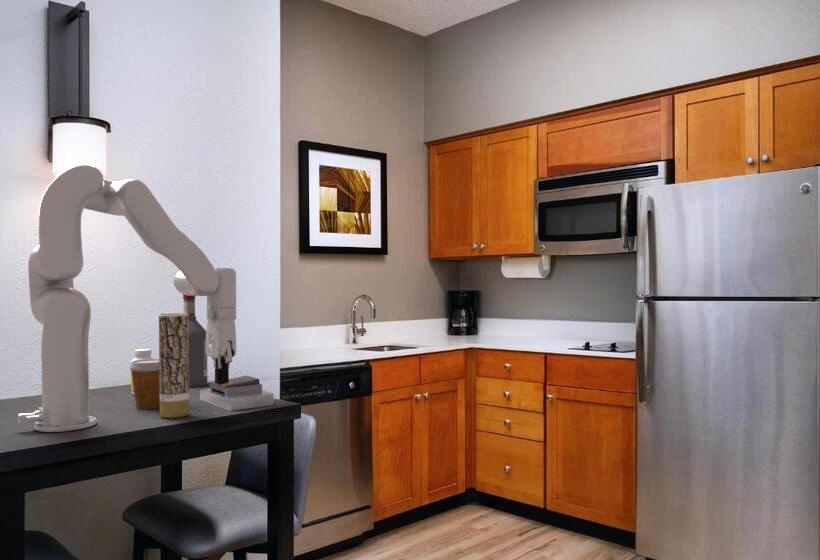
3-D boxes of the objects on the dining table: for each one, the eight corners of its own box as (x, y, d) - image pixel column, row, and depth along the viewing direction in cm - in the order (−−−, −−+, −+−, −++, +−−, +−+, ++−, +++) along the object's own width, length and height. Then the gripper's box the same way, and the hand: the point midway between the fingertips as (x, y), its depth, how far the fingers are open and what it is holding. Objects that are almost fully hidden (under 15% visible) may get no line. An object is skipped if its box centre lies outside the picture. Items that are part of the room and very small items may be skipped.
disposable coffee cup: (154, 402, 181) (154, 357, 181) (176, 405, 176) (175, 360, 176) (121, 407, 173) (121, 361, 173) (143, 412, 168) (142, 364, 168)
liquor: (181, 388, 202) (180, 289, 202) (170, 385, 209) (169, 289, 209) (210, 385, 208) (209, 289, 208) (198, 381, 215) (197, 288, 215)
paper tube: (179, 419, 159) (178, 314, 158) (154, 418, 160) (153, 314, 160) (194, 413, 165) (193, 312, 165) (169, 412, 167) (168, 312, 167)
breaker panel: (230, 410, 169) (230, 391, 168) (200, 399, 184) (199, 381, 184) (273, 404, 176) (273, 385, 176) (240, 394, 192) (240, 377, 192)
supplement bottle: (147, 391, 199) (146, 348, 199) (160, 393, 195) (160, 349, 195) (126, 394, 193) (125, 350, 193) (139, 396, 189) (139, 351, 189)
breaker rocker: (224, 392, 174) (223, 386, 174) (212, 388, 180) (211, 382, 180) (259, 384, 180) (259, 378, 180) (246, 380, 186) (246, 374, 186)
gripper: (197, 313, 181) (197, 381, 181) (219, 316, 169) (219, 388, 169) (223, 312, 186) (223, 378, 186) (247, 315, 174) (247, 385, 174)
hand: (221, 383), depth 178 cm, fingers closed
